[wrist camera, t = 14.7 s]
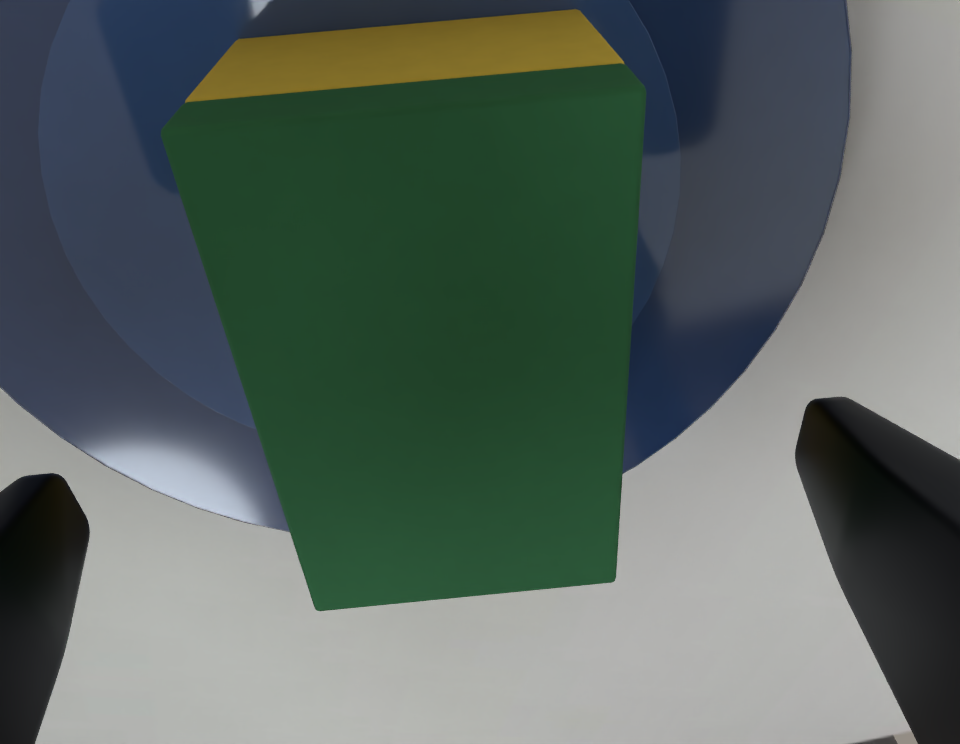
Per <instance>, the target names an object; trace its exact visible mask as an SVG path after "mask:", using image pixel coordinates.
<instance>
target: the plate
mask: <svg viewBox="0 0 960 744" xmlns="http://www.w3.org/2000/svg"><path fill="white" fill-rule="evenodd" d="M573 9H577V10H580V11H581V13H582V14H583V15H584V16H585V17H586V18H587V19H588V21H589V22H590V23H591V24H592V25H593V26H594V28H595V29H596V30H597V31H598V32H599V33H600V35H601V36H602V37H603V38H604V39H605V40H606V41H607V43H608V44H609V45H610V46H611V47H612V48H613V50H614V51H615V52H616V53H617V54H618V55H619V57H620V58H621V59H622V60H623V61H624V64H625V65H627V66H628V68H629V69H630V70H631V71H632V72H633V73H634V75H635V76H636V77H637V78H638V79H639V80H640V82H641V83H642V84H643V85H644V86H645V89H646V108H645V123H644V139H643V155H642V171H641V187H640V203H639V218H638V234H637V250H636V266H635V282H634V298H633V313H632V329H631V345H630V361H629V377H628V393H627V408H626V424H625V440H624V456H623V472H622V474H623V473H625V472H627V471H629V470H630V469H632V468H634V467H636V466H637V465H639V464H640V463H642V462H643V461H645V460H646V459H647V458H649V457H650V456H652V455H653V454H655V453H656V452H657V451H659V450H660V449H662V448H663V447H664V446H666V445H667V444H669V443H670V442H672V441H673V440H674V439H676V438H677V437H678V436H679V435H680V434H682V433H683V432H684V431H685V430H686V429H687V428H688V427H690V426H691V425H692V424H693V423H694V422H695V421H696V420H698V419H699V418H700V417H701V416H702V415H703V414H705V413H706V412H707V411H708V410H709V409H710V408H711V407H712V406H713V405H714V404H715V403H716V402H717V401H718V400H719V399H720V398H721V397H722V396H723V395H724V393H725V392H726V391H727V390H728V389H729V388H730V387H731V386H732V385H733V384H734V383H735V382H736V381H737V379H738V378H739V377H740V376H741V375H742V374H743V373H744V372H745V371H746V369H747V368H748V367H749V365H750V364H751V363H752V361H753V360H754V359H755V357H756V356H757V355H758V353H759V352H760V351H761V349H762V348H763V347H764V345H765V344H766V342H767V341H768V340H769V338H770V337H771V336H772V334H773V333H774V332H775V330H776V329H777V327H778V325H779V323H780V322H781V320H782V318H783V316H784V315H785V313H786V311H787V310H788V308H789V306H790V304H791V303H792V301H793V299H794V297H795V296H796V294H797V292H798V291H799V289H800V287H801V285H802V283H803V281H804V279H805V276H806V274H807V272H808V269H809V267H810V265H811V262H812V260H813V258H814V256H815V253H816V251H817V249H818V246H819V244H820V242H821V239H822V237H823V235H824V232H825V228H826V225H827V221H828V218H829V215H830V211H831V208H832V204H833V201H834V198H835V194H836V191H837V187H838V184H839V180H840V176H841V170H842V164H843V158H844V152H845V145H846V139H847V133H848V127H849V120H850V102H851V67H852V47H851V38H850V28H849V19H848V10H847V0H0V388H1V389H2V390H3V391H4V392H6V393H7V394H8V395H9V396H10V397H11V398H12V399H13V400H14V401H15V402H16V403H17V404H18V405H20V406H21V407H22V408H24V409H25V410H26V411H27V412H29V413H30V414H31V415H32V416H34V417H35V418H36V419H38V420H39V421H40V422H41V423H43V424H44V425H45V426H47V427H48V428H49V429H50V430H52V431H53V432H54V433H56V434H57V435H58V436H59V437H61V438H62V439H64V440H65V441H67V442H69V443H70V444H72V445H73V446H75V447H76V448H78V449H80V450H81V451H83V452H84V453H86V454H87V455H89V456H91V457H92V458H94V459H95V460H97V461H98V462H100V463H102V464H103V465H105V466H106V467H108V468H110V469H112V470H114V471H116V472H118V473H120V474H122V475H124V476H126V477H128V478H130V479H132V480H134V481H136V482H138V483H140V484H142V485H143V486H145V487H147V488H149V489H151V490H154V491H156V492H159V493H161V494H164V495H166V496H169V497H171V498H173V499H176V500H178V501H181V502H183V503H186V504H188V505H191V506H193V507H196V508H198V509H202V510H205V511H208V512H211V513H215V514H218V515H221V516H225V517H228V518H231V519H234V520H238V521H241V522H244V523H249V524H254V525H259V526H263V527H268V528H273V529H278V530H282V531H287V532H290V530H289V527H288V524H287V521H286V518H285V515H284V512H283V509H282V506H281V503H280V500H279V496H278V493H277V490H276V487H275V484H274V481H273V478H272V475H271V472H270V469H269V466H268V463H267V460H266V457H265V454H264V450H263V447H262V444H261V441H260V438H259V435H258V432H257V429H256V426H255V423H254V420H253V417H252V414H251V411H250V408H249V405H248V401H247V398H246V395H245V392H244V389H243V386H242V383H241V380H240V377H239V374H238V371H237V368H236V365H235V362H234V359H233V356H232V352H231V349H230V346H229V343H228V340H227V337H226V334H225V331H224V328H223V325H222V322H221V319H220V316H219V313H218V310H217V307H216V303H215V300H214V297H213V294H212V291H211V288H210V285H209V282H208V279H207V276H206V273H205V270H204V267H203V264H202V261H201V258H200V254H199V251H198V248H197V245H196V242H195V239H194V236H193V233H192V230H191V227H190V224H189V221H188V218H187V215H186V212H185V208H184V205H183V202H182V199H181V196H180V193H179V190H178V187H177V184H176V181H175V178H174V175H173V172H172V169H171V166H170V163H169V159H168V156H167V153H166V150H165V147H164V144H163V141H162V138H161V129H162V128H163V127H164V126H165V124H166V123H167V122H168V121H169V120H170V119H171V117H172V116H173V115H174V114H175V113H176V111H177V110H178V109H179V108H180V107H181V106H182V105H183V104H184V103H185V100H186V99H187V98H188V97H189V95H190V94H191V93H192V92H193V91H194V90H195V88H196V87H197V86H198V85H199V84H200V82H201V81H202V80H203V79H204V78H205V77H206V75H207V74H208V73H209V72H210V71H211V69H212V68H213V67H214V66H215V65H216V64H217V62H218V61H219V60H220V59H221V58H222V57H223V55H224V54H225V53H226V52H227V51H228V49H229V48H230V47H231V46H232V45H233V44H234V42H235V41H236V40H238V39H245V38H256V37H268V36H279V35H290V34H302V33H313V32H324V31H335V30H347V29H358V28H369V27H381V26H392V25H403V24H415V23H426V22H437V21H449V20H460V19H471V18H482V17H494V16H505V15H516V14H528V13H539V12H550V11H562V10H573Z"/></svg>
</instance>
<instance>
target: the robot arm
mask: <svg viewBox="0 0 960 744" xmlns="http://www.w3.org/2000/svg"><path fill="white" fill-rule="evenodd" d="M795 460H796V466H797V470H798V473H799V475H800V478H801V481H802V484H803V487H804V489H805V492H806V495H807V498H808V501H809V503H810V506H811V509H812V512H813V515H814V517H815V520H816V523H817V526H818V529H819V531H820V534H821V537H822V540H823V542H824V545H825V548H826V551H827V554H828V556H829V559H830V562H831V564H832V567H833V570H834V572H835V575H836V577H837V579H838V582H839V584H840V586H841V588H842V590H843V592H844V595H845V597H846V599H847V601H848V603H849V605H850V607H851V609H852V611H853V613H854V615H855V617H856V619H857V621H858V623H859V625H860V627H861V629H862V631H863V633H864V635H865V637H866V639H867V641H868V643H869V645H870V647H871V649H872V651H873V653H874V655H875V657H876V660H877V662H878V664H879V666H880V668H881V670H882V672H883V674H884V676H885V678H886V680H887V682H888V684H889V686H890V688H891V690H892V692H893V694H894V696H895V698H896V700H897V702H898V704H899V706H900V708H901V710H902V712H903V714H904V716H905V718H906V720H907V722H908V724H909V726H910V728H911V730H912V732H913V734H914V736H915V738H916V741H917V742H918V744H960V460H959V459H957V458H955V457H953V456H951V455H950V454H948V453H946V452H944V451H942V450H941V449H939V448H937V447H935V446H933V445H932V444H930V443H928V442H926V441H925V440H923V439H921V438H919V437H917V436H916V435H914V434H912V433H910V432H908V431H907V430H905V429H903V428H901V427H899V426H898V425H896V424H894V423H892V422H890V421H889V420H887V419H885V418H883V417H882V416H880V415H878V414H876V413H874V412H873V411H871V410H869V409H867V408H865V407H864V406H862V405H860V404H858V403H856V402H855V401H853V400H851V399H849V398H846V397H831V398H821V399H814V400H812V401H810V402H809V404H808V405H807V407H806V409H805V413H804V417H803V421H802V425H801V429H800V433H799V437H798V441H797V445H796V450H795ZM89 534H90V530H89V524H88V520H87V518H86V516H85V514H84V512H83V510H82V509H81V507H80V505H79V503H78V501H77V500H76V498H75V496H74V494H73V493H72V491H71V489H70V487H69V485H68V484H67V482H66V480H65V479H64V478H63V477H62V476H60V475H59V474H54V473H49V474H39V475H29V476H24V477H21V478H19V479H17V480H16V481H14V482H13V483H12V484H10V485H9V486H8V487H6V488H5V489H4V490H2V491H1V492H0V744H35V741H36V738H37V735H38V732H39V729H40V726H41V723H42V720H43V717H44V714H45V711H46V708H47V705H48V702H49V699H50V696H51V693H52V690H53V687H54V684H55V681H56V678H57V675H58V672H59V669H60V666H61V662H62V659H63V656H64V652H65V648H66V644H67V640H68V636H69V631H70V627H71V622H72V617H73V613H74V608H75V603H76V598H77V594H78V589H79V584H80V580H81V575H82V570H83V566H84V561H85V556H86V552H87V547H88V542H89Z"/></svg>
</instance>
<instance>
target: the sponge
mask: <svg viewBox="0 0 960 744" xmlns="http://www.w3.org/2000/svg"><path fill="white" fill-rule="evenodd" d="M645 108H646V89H645V86H644V85H643V84H642V83H641V82H640V80H639V79H638V78H637V77H636V76H635V75H634V73H633V72H632V71H631V70H630V69H629V68H628V66H627V65H625V64H624V61H623V60H622V59H621V58H620V57H619V55H618V54H617V53H616V52H615V51H614V50H613V48H612V47H611V46H610V45H609V44H608V43H607V41H606V40H605V39H604V38H603V37H602V36H601V35H600V33H599V32H598V31H597V30H596V29H595V28H594V26H593V25H592V24H591V23H590V22H589V21H588V19H587V18H586V17H585V16H584V15H583V14H582V13H581V11H580V10H577V9H573V10H562V11H550V12H539V13H528V14H516V15H505V16H494V17H482V18H471V19H460V20H449V21H437V22H426V23H415V24H403V25H392V26H381V27H369V28H358V29H347V30H335V31H324V32H313V33H302V34H290V35H279V36H268V37H256V38H245V39H238V40H236V41H235V42H234V44H233V45H232V46H231V47H230V48H229V49H228V51H227V52H226V53H225V54H224V55H223V57H222V58H221V59H220V60H219V61H218V62H217V64H216V65H215V66H214V67H213V68H212V69H211V71H210V72H209V73H208V74H207V75H206V77H205V78H204V79H203V80H202V81H201V82H200V84H199V85H198V86H197V87H196V88H195V90H194V91H193V92H192V93H191V94H190V95H189V97H188V98H187V99H186V100H185V103H184V104H183V105H182V106H181V107H180V108H179V109H178V110H177V111H176V113H175V114H174V115H173V116H172V117H171V119H170V120H169V121H168V122H167V123H166V124H165V126H164V127H163V128H162V129H161V138H162V141H163V144H164V147H165V150H166V153H167V156H168V159H169V163H170V166H171V169H172V172H173V175H174V178H175V181H176V184H177V187H178V190H179V193H180V196H181V199H182V202H183V205H184V208H185V212H186V215H187V218H188V221H189V224H190V227H191V230H192V233H193V236H194V239H195V242H196V245H197V248H198V251H199V254H200V258H201V261H202V264H203V267H204V270H205V273H206V276H207V279H208V282H209V285H210V288H211V291H212V294H213V297H214V300H215V303H216V307H217V310H218V313H219V316H220V319H221V322H222V325H223V328H224V331H225V334H226V337H227V340H228V343H229V346H230V349H231V352H232V356H233V359H234V362H235V365H236V368H237V371H238V374H239V377H240V380H241V383H242V386H243V389H244V392H245V395H246V398H247V401H248V405H249V408H250V411H251V414H252V417H253V420H254V423H255V426H256V429H257V432H258V435H259V438H260V441H261V444H262V447H263V450H264V454H265V457H266V460H267V463H268V466H269V469H270V472H271V475H272V478H273V481H274V484H275V487H276V490H277V493H278V496H279V500H280V503H281V506H282V509H283V512H284V515H285V518H286V521H287V524H288V527H289V530H290V533H291V536H292V539H293V542H294V545H295V549H296V552H297V555H298V558H299V561H300V564H301V567H302V570H303V573H304V576H305V579H306V582H307V585H308V588H309V591H310V594H311V598H312V601H313V604H314V607H315V609H316V610H317V611H325V610H335V609H346V608H356V607H366V606H376V605H386V604H397V603H407V602H417V601H427V600H437V599H448V598H458V597H468V596H478V595H488V594H499V593H509V592H519V591H529V590H539V589H550V588H560V587H570V586H580V585H590V584H601V583H611V582H614V581H615V578H616V567H617V551H618V535H619V519H620V503H621V488H622V472H623V456H624V440H625V424H626V408H627V393H628V377H629V361H630V345H631V329H632V313H633V298H634V282H635V266H636V250H637V234H638V218H639V203H640V187H641V171H642V155H643V139H644V123H645Z"/></svg>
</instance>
